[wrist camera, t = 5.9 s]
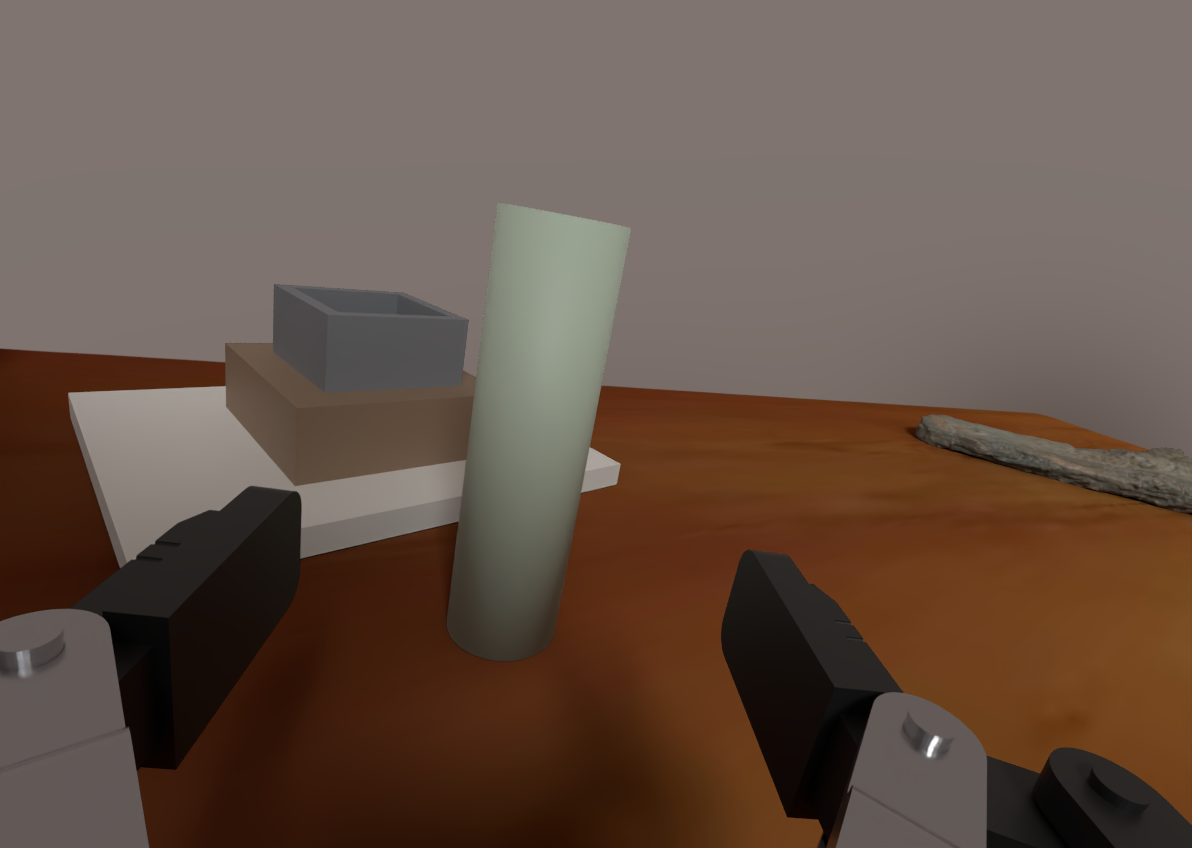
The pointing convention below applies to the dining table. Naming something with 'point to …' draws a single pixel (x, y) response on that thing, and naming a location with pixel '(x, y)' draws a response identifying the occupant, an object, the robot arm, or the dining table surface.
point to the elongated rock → (1072, 461)
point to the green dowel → (531, 425)
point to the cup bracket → (302, 426)
